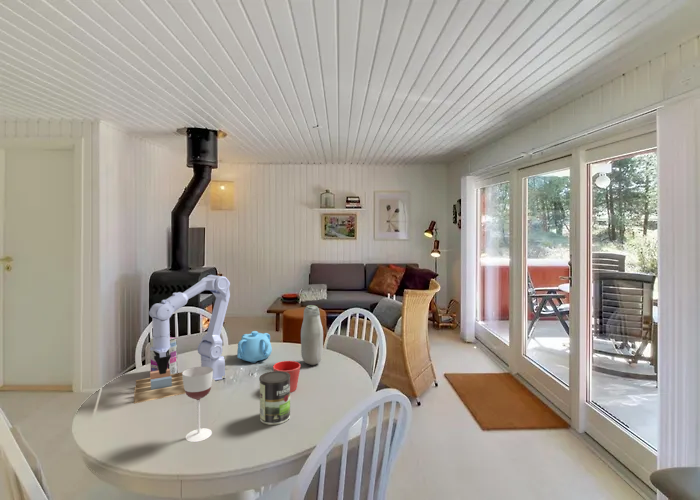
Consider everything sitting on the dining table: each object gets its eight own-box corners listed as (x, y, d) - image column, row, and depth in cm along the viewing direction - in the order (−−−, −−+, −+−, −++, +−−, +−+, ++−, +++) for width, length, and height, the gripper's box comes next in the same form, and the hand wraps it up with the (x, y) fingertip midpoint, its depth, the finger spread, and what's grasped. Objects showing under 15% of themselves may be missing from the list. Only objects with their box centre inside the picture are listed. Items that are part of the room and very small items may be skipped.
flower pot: (306, 388, 146) (306, 365, 145) (283, 397, 138) (283, 372, 137) (289, 381, 153) (289, 358, 153) (267, 389, 145) (267, 365, 145)
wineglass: (188, 428, 116) (187, 367, 115) (216, 427, 117) (216, 366, 116) (179, 442, 108) (178, 377, 107) (209, 441, 109) (208, 376, 108)
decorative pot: (242, 353, 188) (242, 327, 187) (273, 353, 189) (273, 327, 188) (233, 365, 172) (233, 336, 171) (268, 364, 172) (267, 336, 172)
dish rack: (184, 380, 153) (184, 371, 153) (188, 395, 140) (188, 385, 139) (134, 389, 145) (134, 379, 144) (133, 406, 131) (133, 395, 130)
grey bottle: (326, 362, 175) (326, 304, 174) (313, 369, 167) (313, 308, 165) (310, 358, 181) (310, 302, 179) (297, 364, 172) (296, 306, 170)
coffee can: (296, 414, 125) (296, 374, 124) (275, 428, 116) (275, 385, 116) (274, 407, 131) (274, 368, 130) (253, 419, 122) (252, 378, 121)
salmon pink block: (170, 382, 148) (169, 368, 148) (170, 384, 147) (170, 370, 146) (150, 386, 145) (150, 371, 145) (150, 388, 143) (150, 373, 143)
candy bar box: (178, 374, 160) (177, 337, 159) (169, 378, 155) (168, 340, 154) (159, 370, 164) (159, 334, 163) (150, 374, 159) (149, 337, 158)
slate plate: (171, 391, 141) (171, 376, 141) (172, 393, 139) (171, 378, 139) (151, 395, 137) (150, 379, 137) (151, 397, 136) (150, 381, 135)
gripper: (148, 331, 143) (149, 365, 143) (149, 341, 130) (150, 379, 131) (168, 329, 146) (169, 362, 147) (171, 338, 134) (172, 375, 134)
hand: (162, 370), depth 139 cm, fingers open, 7 cm apart
